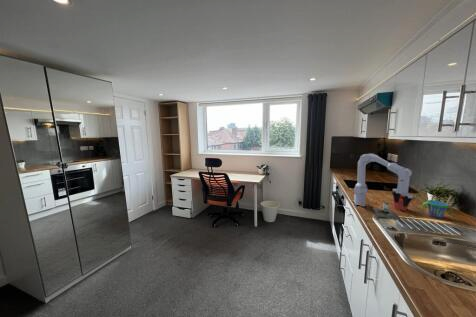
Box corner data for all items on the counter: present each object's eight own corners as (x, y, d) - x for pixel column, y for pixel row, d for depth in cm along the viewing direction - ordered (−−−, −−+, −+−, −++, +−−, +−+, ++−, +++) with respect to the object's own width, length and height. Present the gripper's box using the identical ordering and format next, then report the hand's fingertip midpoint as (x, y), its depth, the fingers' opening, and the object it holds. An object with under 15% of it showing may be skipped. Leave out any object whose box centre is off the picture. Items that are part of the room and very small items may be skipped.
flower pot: (406, 213, 139) (408, 200, 138) (389, 208, 148) (390, 196, 147) (411, 209, 145) (412, 197, 144) (393, 205, 154) (395, 193, 153)
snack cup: (448, 215, 134) (450, 202, 133) (454, 221, 125) (456, 207, 124) (418, 210, 143) (420, 198, 141) (422, 216, 134) (424, 202, 133)
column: (380, 209, 139) (381, 201, 138) (387, 210, 138) (388, 202, 137) (383, 211, 136) (384, 203, 135) (389, 212, 135) (390, 204, 134)
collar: (372, 210, 145) (372, 205, 144) (390, 212, 141) (391, 207, 141) (378, 217, 134) (379, 212, 133) (398, 219, 130) (399, 214, 129)
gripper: (389, 182, 135) (387, 200, 137) (405, 189, 121) (403, 208, 123) (399, 182, 135) (397, 200, 137) (417, 189, 121) (414, 208, 123)
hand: (400, 204), depth 130 cm, fingers open, 7 cm apart
